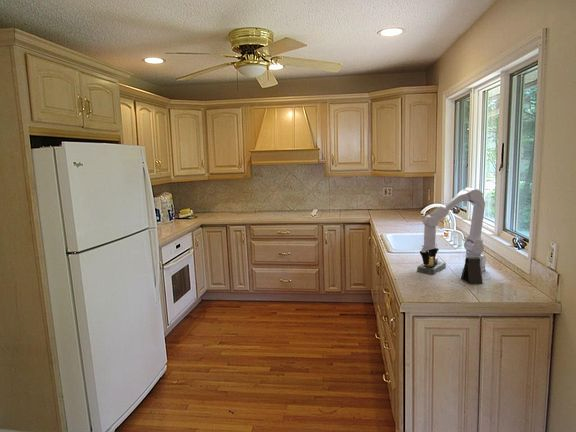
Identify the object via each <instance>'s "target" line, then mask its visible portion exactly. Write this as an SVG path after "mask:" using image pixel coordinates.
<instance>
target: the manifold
mask: <svg viewBox="0 0 576 432" xmlns="http://www.w3.org/2000/svg"><path fill="white" fill-rule="evenodd" d="M446 265H447V263H446V262H443V261H439V257H436V256H435V260H434V262H433V268H427V267H425V264H424V263H421V264H420V265H418V266H417V269H416V271H417V272H421V273H426V274H430V275H431V274H432V275H435V274H436V273H439V272H440V271H442V270H443V269H446V267H447V266H446Z"/></svg>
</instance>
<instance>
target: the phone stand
mask: <svg viewBox="0 0 576 432" xmlns="http://www.w3.org/2000/svg"><path fill="white" fill-rule="evenodd" d="M463 268H464V269H463ZM463 268H462V272H461V276H460V279H461V280H463V281H464V282H466V283H467V284H470V285H479V284H480V285H482V284H483V283H484V282H483V277H482V275H483V274H482V272H481V268H480V258H478V257H470V258H466V257H465V258H464V266H463Z"/></svg>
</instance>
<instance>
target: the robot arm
mask: <svg viewBox="0 0 576 432" xmlns="http://www.w3.org/2000/svg"><path fill="white" fill-rule="evenodd" d="M462 202H469V204H471V205H472V206H473V207H472V215H471V222H470V229H469V235H467V237H466V240H465V242H464V243H463V247H464V249H465V259H466V258H470V257H478V258H480V268H481V273H482V272H484V271H485V270H486V261H487V257H486V255H485V254H482V253H483V252H484V250H485V247H484V243H483V242H484V240H483V239H482V231H483V229H482V228H483V224H484V223H483V222H484V216H485V215H484V214H485V208H486V201H485V198H484V193H483V192H482V191H481V190H480V189H479V188H471V187H464V188H463V189H462V190H459V191H458V193H457V194H456V195H455V196H454V197H453V198H452V199H451V200H449V201H448V202H447V203H446V204H445V205H441V206H437V207H436V209H435V210H434V211H432V212H430V213H429V215H425V216H424V218H423V220H422V224H423V225H424V229H423V230H424V231H423V244H421V247H422V248H421V250H420V251H419V254H420V257H421V258H422V262H423V263H424V264H425V265H428V263H429V258H430V256H433V262H434V260H435V257H436V255H437V254H438V252H439V248H438V244H437V243H436V231H437V230H436V229H437V226H438V225H439V222H440V221H441V220H443V219H444V218H445V217H447V216H448V215H449V213H450V211H451V210H453V208H455V207H456V206H458V205H460V204H461V203H462ZM423 263H422V264H423ZM463 269H464V267H463V268H462V270H463Z"/></svg>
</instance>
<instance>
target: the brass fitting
mask: <svg viewBox="0 0 576 432" xmlns="http://www.w3.org/2000/svg"><path fill="white" fill-rule="evenodd" d="M425 267H427V268H433V256H430V258H429V263H428V265H425Z"/></svg>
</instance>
